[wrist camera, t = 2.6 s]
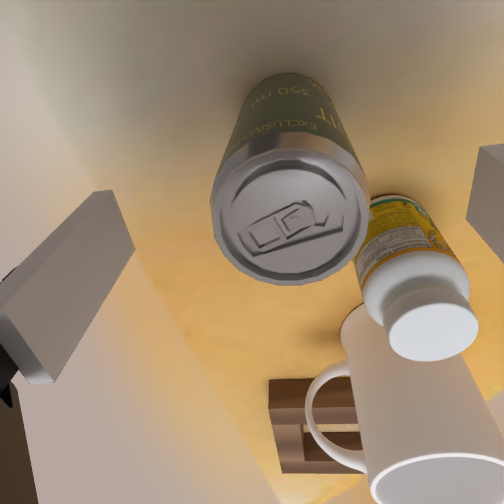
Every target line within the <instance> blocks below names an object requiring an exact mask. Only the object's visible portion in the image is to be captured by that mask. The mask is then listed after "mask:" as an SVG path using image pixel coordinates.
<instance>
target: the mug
mask: <svg viewBox="0 0 504 504" xmlns="http://www.w3.org/2000/svg"><path fill="white" fill-rule="evenodd" d="M340 339H341V343H342V346H343V348H344V350H345V353H346V357H347V359H345V360H343V361H340V362H338V363H335V364H333V365H331V366H329V367H327V368H326V369H324V370H323V371H322V372H321V373H320V374H318V376H317V377H316V378H315V379H314V380H313V382H312V383H311V385H310V387H309V389H308V392H307V396H306V401H305V415H306V420H307V424H308V427H309V430H310V432H311V434H312V436H313V437H314V439H315V441H316V442H317V443H318V445H319V446H320V447H321V448H322V449H323V450H324V451H325V452H326V453H327V454H328V455H329V456H330V457H332V458H333V459H335V460H336V461H338V462H339V463H341V464H343V465H345V466H348V467H350V468H353V469H356V470H359V471H361V472H363V473H365V474H367V476H368V481H369V486H370V492H371V495H372V497H373V498H374V500H375V501H376V502H377V503H378V504H504V439H503V437H502V435H501V433H500V431H499V429H498V427H497V425H496V423H495V421H494V419H493V417H492V415H491V413H490V411H489V409H488V407H487V405H486V403H485V401H484V399H483V397H482V395H481V393H480V391H479V389H478V387H477V385H476V383H475V381H474V379H473V377H472V375H471V373H470V371H469V369H468V367H467V365H466V363H465V361H464V359H463V357H462V355H461V353H458V354H456V355H454V356H452V357H448V358H446V359H442V360H437V361H415V360H410V359H407V358H405V357H402V356H400V355H399V354H398V353H396V352H395V351H394V350H393V349H392V347H391V345H390V343H389V341H388V338H387V335H386V332H385V330H384V328H383V326H381V325H380V324H378V323H377V322H376V321H375V320H374V319H373V318H372V317H371V316H370V315H369V313H368V312H367V310H366V308H365V305H364V303H363V304H362V305H360V306H359V307H357V308H356V309H355V310H353V311H352V312H351V313H350V314H349V315H348V317H347V318H346V319H345V321H344V323H343V325H342V328H341V332H340ZM340 375H350V379H351V384H352V390H353V396H354V402H355V407H356V413H357V419H358V424H359V430H360V436H361V442H362V447H363V450H360V451H354V450H347V449H344V448H342V447H339V446H337V445H335V444H334V443H332V442H331V441H329V440H328V439H327V438H326V437H325V436H324V435H323V434H322V433H321V432H320V431H319V429H318V428H317V426H316V424H315V422H314V419H313V416H312V402H313V399H314V396H315V394H316V392H317V391H318V389H319V388H320V387H321V386H322V385H323V384H324V383H325V382H327V381H328V380H330V379H332V378H334V377H336V376H340Z"/></svg>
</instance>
